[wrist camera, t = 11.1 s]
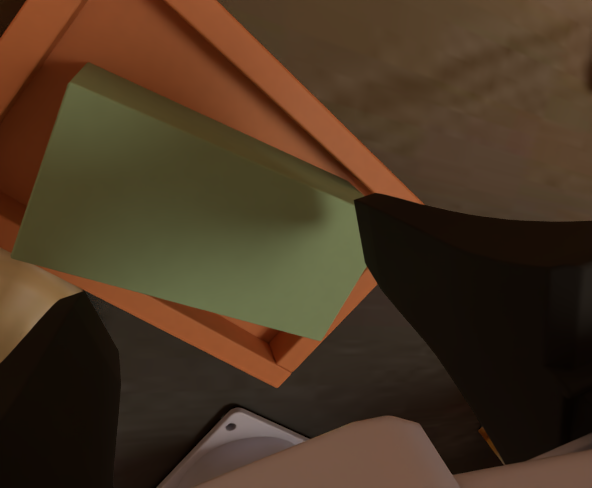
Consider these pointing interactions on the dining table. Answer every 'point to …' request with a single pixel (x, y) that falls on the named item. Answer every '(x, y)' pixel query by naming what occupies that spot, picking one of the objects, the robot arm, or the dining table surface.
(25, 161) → the orange shallow tray
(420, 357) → the dining table surface
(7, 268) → the hand bell
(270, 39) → the dining table surface
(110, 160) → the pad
